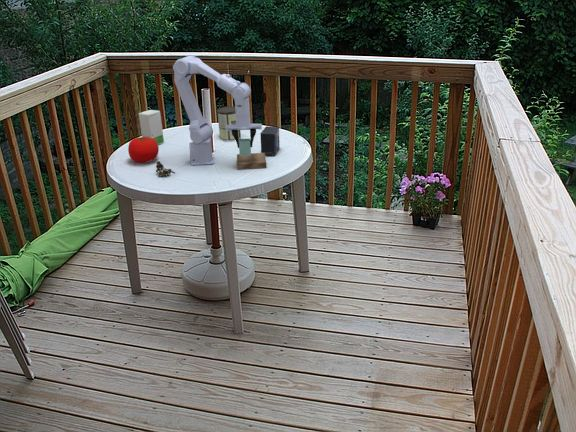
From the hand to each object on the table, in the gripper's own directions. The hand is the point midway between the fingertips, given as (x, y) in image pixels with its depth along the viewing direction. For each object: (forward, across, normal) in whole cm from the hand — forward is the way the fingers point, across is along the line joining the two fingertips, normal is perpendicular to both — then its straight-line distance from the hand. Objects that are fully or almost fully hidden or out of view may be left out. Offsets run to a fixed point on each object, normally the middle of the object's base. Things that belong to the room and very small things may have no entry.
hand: (245, 146), depth 235 cm
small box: (+9, +11, +16) cm, 21 cm away
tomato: (+9, -44, +14) cm, 47 cm away
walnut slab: (+8, +2, +2) cm, 9 cm away
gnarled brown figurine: (+9, -33, -5) cm, 34 cm away
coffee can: (+9, -7, +39) cm, 41 cm away
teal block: (+3, 0, -1) cm, 3 cm away
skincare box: (+8, -43, +36) cm, 57 cm away
